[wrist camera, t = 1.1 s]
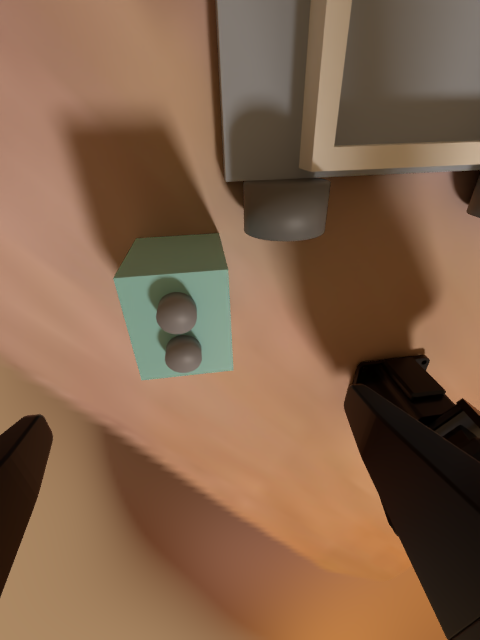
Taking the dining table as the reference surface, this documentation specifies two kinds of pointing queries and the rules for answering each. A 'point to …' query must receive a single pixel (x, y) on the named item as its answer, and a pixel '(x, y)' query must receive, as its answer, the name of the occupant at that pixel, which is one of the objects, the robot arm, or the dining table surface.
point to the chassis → (343, 99)
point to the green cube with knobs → (177, 305)
